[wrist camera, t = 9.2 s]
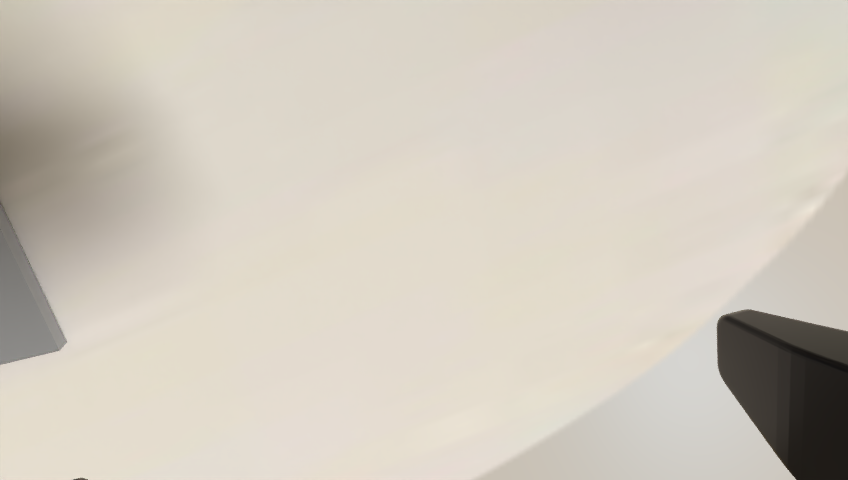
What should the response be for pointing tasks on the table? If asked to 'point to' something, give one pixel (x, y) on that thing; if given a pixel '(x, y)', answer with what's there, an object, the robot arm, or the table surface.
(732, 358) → the robot arm
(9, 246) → the mat
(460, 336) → the table surface
